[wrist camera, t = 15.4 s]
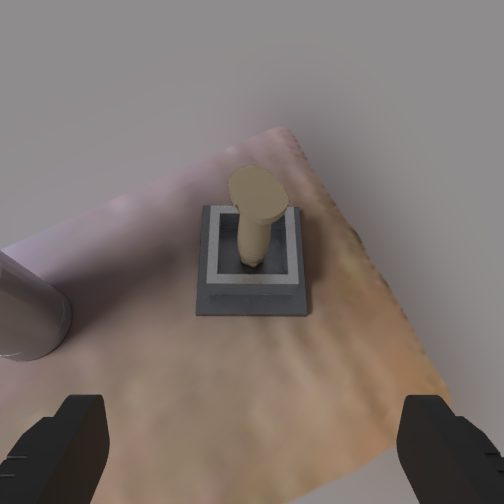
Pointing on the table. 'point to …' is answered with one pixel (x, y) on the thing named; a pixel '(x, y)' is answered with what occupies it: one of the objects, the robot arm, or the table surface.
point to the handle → (256, 210)
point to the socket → (250, 268)
